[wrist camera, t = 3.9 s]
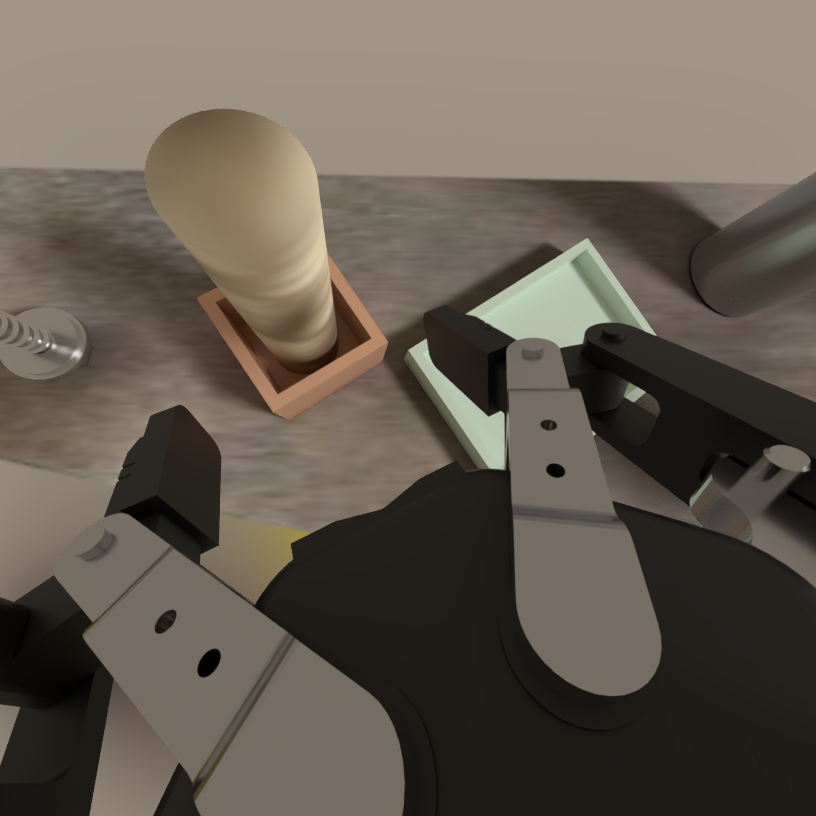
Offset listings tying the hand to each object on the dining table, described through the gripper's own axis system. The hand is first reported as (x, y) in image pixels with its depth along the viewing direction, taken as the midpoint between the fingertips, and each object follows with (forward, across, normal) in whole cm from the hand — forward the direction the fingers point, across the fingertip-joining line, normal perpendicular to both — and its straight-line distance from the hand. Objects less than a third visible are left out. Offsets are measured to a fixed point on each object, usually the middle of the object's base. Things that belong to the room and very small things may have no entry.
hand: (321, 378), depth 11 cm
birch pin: (+14, 0, +5) cm, 15 cm away
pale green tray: (+9, -18, +12) cm, 23 cm away
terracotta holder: (+15, 0, +6) cm, 16 cm away
